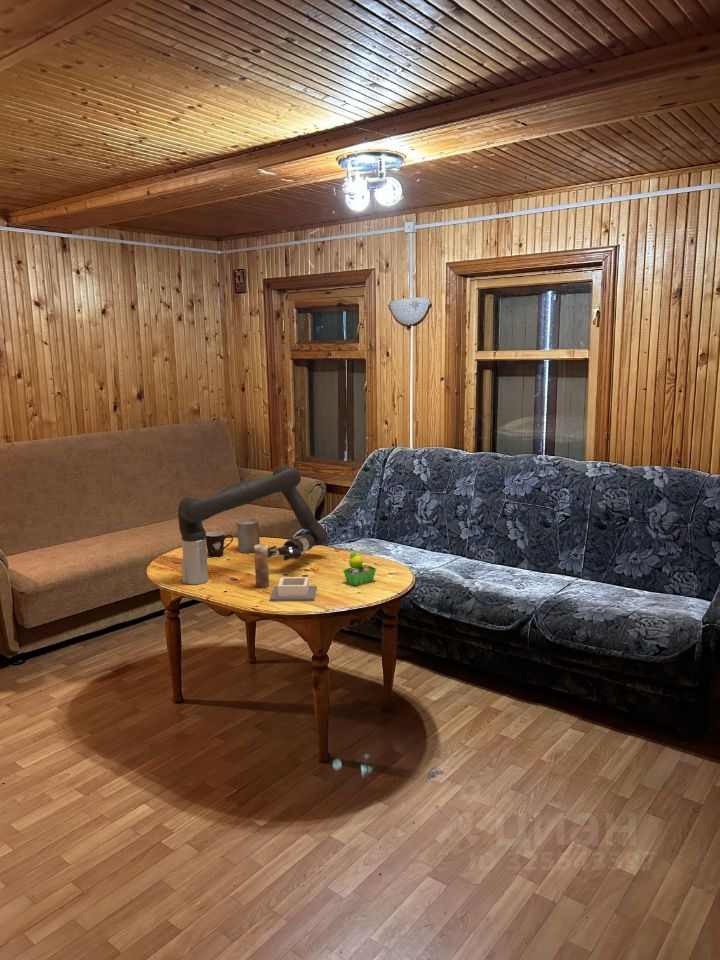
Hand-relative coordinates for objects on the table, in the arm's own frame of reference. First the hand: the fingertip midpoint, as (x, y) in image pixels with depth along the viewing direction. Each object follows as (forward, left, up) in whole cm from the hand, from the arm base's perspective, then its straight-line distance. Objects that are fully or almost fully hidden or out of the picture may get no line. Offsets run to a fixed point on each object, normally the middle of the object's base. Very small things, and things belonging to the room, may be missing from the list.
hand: (275, 556), depth 287 cm
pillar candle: (-17, +42, -9) cm, 46 cm away
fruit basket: (+33, -4, -9) cm, 34 cm away
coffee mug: (-29, +34, -9) cm, 46 cm away
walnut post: (-4, -9, -9) cm, 14 cm away
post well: (+9, -19, -9) cm, 23 cm away
